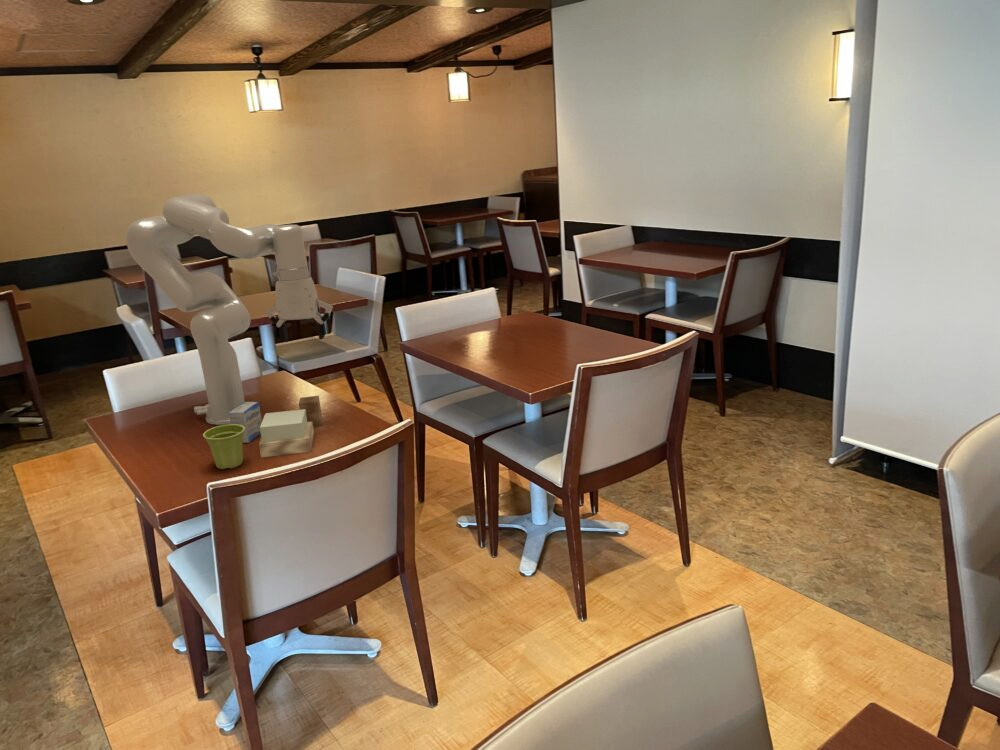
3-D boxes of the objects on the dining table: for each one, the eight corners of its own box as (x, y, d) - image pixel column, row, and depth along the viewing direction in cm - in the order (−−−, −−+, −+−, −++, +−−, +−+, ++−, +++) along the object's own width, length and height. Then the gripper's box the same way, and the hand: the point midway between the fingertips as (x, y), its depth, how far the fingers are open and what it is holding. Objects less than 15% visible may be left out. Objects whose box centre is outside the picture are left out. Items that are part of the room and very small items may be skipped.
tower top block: (262, 442, 184) (259, 427, 182) (268, 427, 193) (265, 413, 192) (303, 437, 185) (301, 422, 184) (307, 423, 194) (305, 409, 193)
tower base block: (261, 459, 184) (258, 444, 183) (267, 441, 195) (265, 426, 194) (311, 453, 186) (308, 438, 184) (314, 435, 197) (312, 421, 196)
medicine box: (249, 443, 193) (243, 412, 190) (233, 443, 194) (227, 411, 191) (264, 431, 200) (259, 401, 198) (249, 431, 201) (243, 401, 199)
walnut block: (302, 428, 202) (298, 403, 199) (303, 421, 206) (300, 397, 204) (321, 425, 202) (317, 401, 200) (322, 419, 207) (318, 395, 205)
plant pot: (234, 453, 187) (228, 421, 185) (258, 460, 182) (252, 427, 179) (201, 467, 180) (194, 434, 177) (225, 475, 175) (219, 441, 172)
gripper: (255, 279, 187) (266, 345, 192) (323, 274, 186) (333, 340, 192) (264, 274, 194) (275, 337, 200) (330, 269, 194) (339, 333, 199)
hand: (303, 339), depth 196 cm, fingers open, 9 cm apart
